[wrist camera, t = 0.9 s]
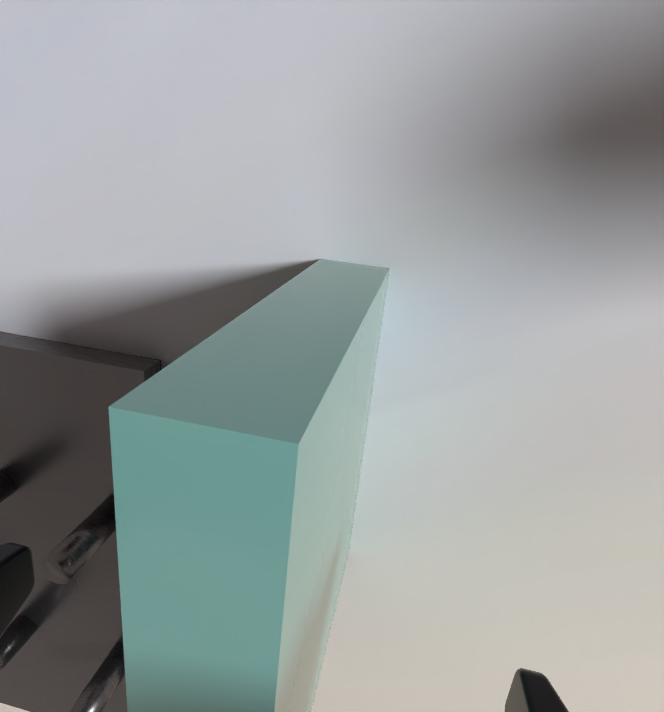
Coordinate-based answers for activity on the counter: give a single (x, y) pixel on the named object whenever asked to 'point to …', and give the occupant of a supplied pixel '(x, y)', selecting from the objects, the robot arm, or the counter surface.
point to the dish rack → (63, 522)
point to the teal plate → (245, 497)
